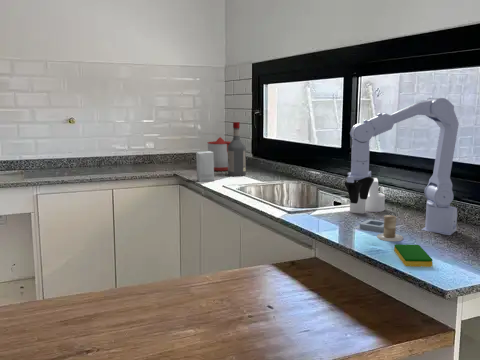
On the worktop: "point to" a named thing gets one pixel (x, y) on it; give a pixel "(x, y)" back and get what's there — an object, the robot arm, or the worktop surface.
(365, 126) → the robot arm
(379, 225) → the pocket block
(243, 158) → the liquor
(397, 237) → the coaster
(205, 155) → the skincare box
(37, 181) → the worktop surface
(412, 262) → the dish sponge
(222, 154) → the citrus juicer
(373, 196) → the base with upright slab
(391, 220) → the dowel
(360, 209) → the eye dropper bottle
